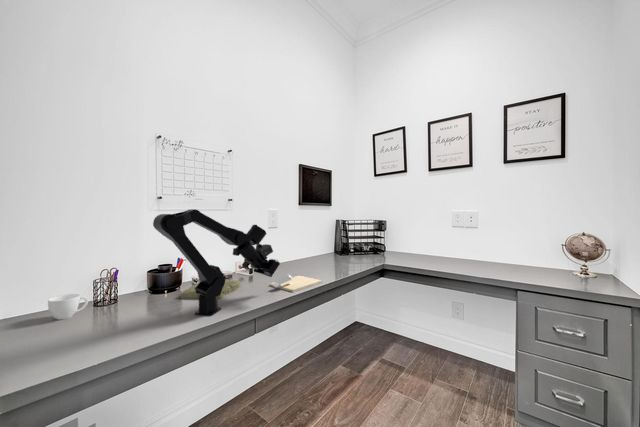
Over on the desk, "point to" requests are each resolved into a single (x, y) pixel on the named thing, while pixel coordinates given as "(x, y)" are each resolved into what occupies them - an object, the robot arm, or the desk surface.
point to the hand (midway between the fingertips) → (271, 276)
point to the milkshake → (283, 281)
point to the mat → (299, 283)
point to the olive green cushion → (227, 288)
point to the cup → (65, 305)
